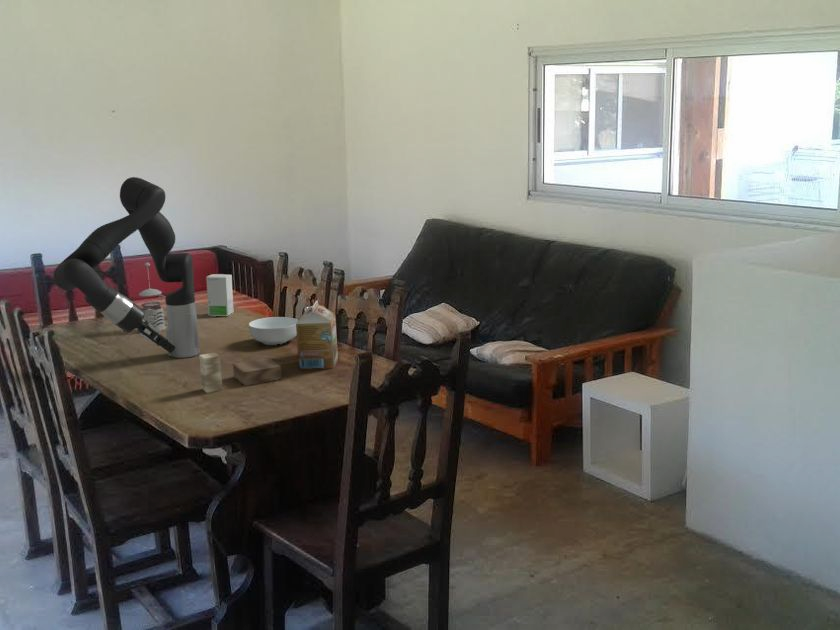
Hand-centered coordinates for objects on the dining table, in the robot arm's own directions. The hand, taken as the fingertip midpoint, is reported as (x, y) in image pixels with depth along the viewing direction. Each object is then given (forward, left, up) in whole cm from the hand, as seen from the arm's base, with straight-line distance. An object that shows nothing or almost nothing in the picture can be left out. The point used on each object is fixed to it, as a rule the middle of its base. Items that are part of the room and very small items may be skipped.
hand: (169, 347), depth 258 cm
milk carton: (+34, +32, -14) cm, 49 cm away
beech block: (+9, +6, -14) cm, 18 cm away
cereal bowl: (+13, +59, -14) cm, 62 cm away
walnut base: (+19, +17, -14) cm, 29 cm away
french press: (-37, +79, -14) cm, 88 cm away
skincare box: (-20, +102, -14) cm, 105 cm away
